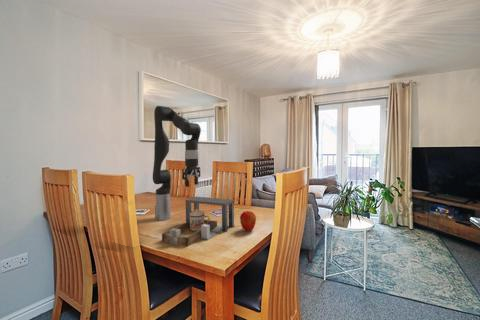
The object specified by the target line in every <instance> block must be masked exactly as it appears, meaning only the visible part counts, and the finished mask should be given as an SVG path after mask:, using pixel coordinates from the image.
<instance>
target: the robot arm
mask: <svg viewBox="0 0 480 320" xmlns="http://www.w3.org/2000/svg"><path fill="white" fill-rule="evenodd" d="M153 115H154V116H153V117H154V148H153V149H154V152H153V153H154V157H153V160H154V161H153V169H152V182H153V183H154V184H155V185H161V186H159V188H157V189H156V190H155V205H154V219H155V220H156V221H168V220H171V190H172V189H171V188H172V186H171V185H172V175H171V172H170V170H168V169H162V165H163V163H164V160H165V159H166V157H167V155H169V152H170V140H169V138H168V136H167V133H166V131H165V130H164V126H163V122H172V124H173V126H174V127H176V128H177V129H179V130H180V131H181V133H182V134H183V135H186V136H191V138H190V139H186V140H185V148H184V149H185V151H184V152H185V153H184V166H185V167H186V168H182V172H181V173H182V174H181V175H182V180H184V181H185V182H184V186H185V187H186V188H189V187H190V178H191V177H192V176H193V180H194V181H193V183H194V185H195V186H196V185H198V184H199V178H200V177H202V176H201V166H199V150H198V149H199V148H198V147H199V139H200V136H201V132H202V128H201V126H200V124H198V123H193V122H190V121H189V120H188V119H186V118H184V117H183V116H180V115H179V114H178V113H177V112H176V111H175V110H174V109H172V108H171V107H169V106H163V105H156V106H155V108H154V113H153Z"/></svg>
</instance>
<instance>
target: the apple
mask: <svg viewBox="0 0 480 320" xmlns="http://www.w3.org/2000/svg"><path fill="white" fill-rule="evenodd" d="M239 220H240V225H241V228H242V230H244V232H251V231H252V230H253V229H255V225H256V223H257V216H256V213H254V212H253V211H250V210H246V211H243V212H242V213H241V214H240V217H239Z"/></svg>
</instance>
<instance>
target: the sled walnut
mask: <svg viewBox="0 0 480 320" xmlns="http://www.w3.org/2000/svg"><path fill="white" fill-rule="evenodd" d="M208 220H209V219H205V218H204V223H207V222H208ZM207 225H210V232H211V230H212V229H214V228H215V227H217V226H218V221H217V220H212V219H210V221H209V223H208V224H207ZM187 230H190V221H188V222H186V221H185V222H184V223H182V224H180V225H178V226H177V225H176V226H175V227H173V228H171V229H168V230H167V231H165V232H163V233H161V242H162V243H168V244H170V245H173V246H182V247H183V246H184V247H189V246H191V245H193V244H194V243H195V242H197V241H199V240H201V239H200V237H201V229H200V230H199V231H194V232H193V233H192V234H190V235H188V236H186V235H184V236H183V235H181V233H183V232H186V231H187Z"/></svg>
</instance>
